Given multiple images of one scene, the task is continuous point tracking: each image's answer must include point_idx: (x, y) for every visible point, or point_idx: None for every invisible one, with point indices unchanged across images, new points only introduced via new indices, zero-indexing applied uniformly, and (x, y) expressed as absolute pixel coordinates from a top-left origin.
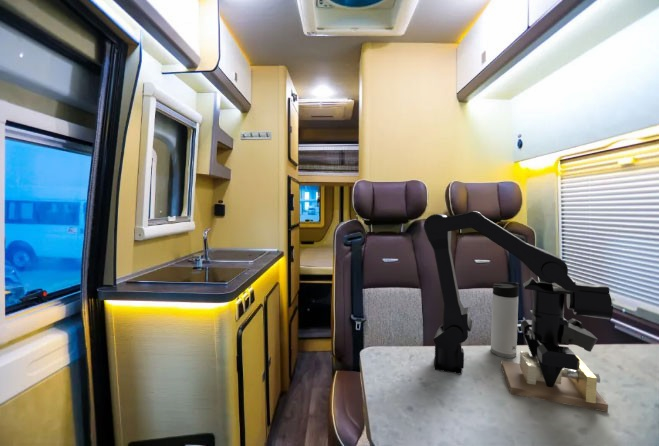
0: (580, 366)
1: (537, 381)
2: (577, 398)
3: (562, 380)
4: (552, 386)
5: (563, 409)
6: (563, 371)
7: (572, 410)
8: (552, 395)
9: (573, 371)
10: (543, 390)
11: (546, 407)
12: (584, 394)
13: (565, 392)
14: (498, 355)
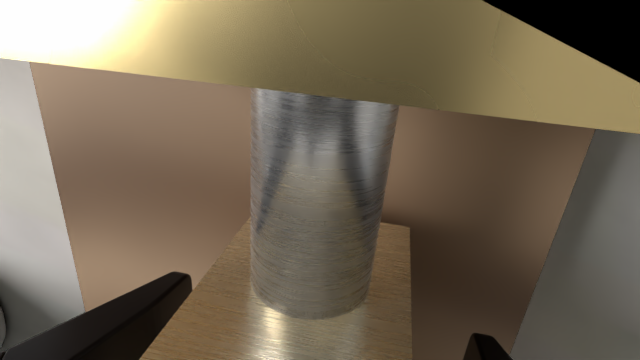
0: (378, 37)
1: None
2: (581, 131)
3: (235, 113)
4: (498, 346)
5: (615, 248)
6: (350, 273)
7: (629, 187)
8: (523, 312)
9: (339, 134)
10: (461, 348)
11: (590, 344)
12: (635, 73)
13: (473, 195)
14: (2, 341)
